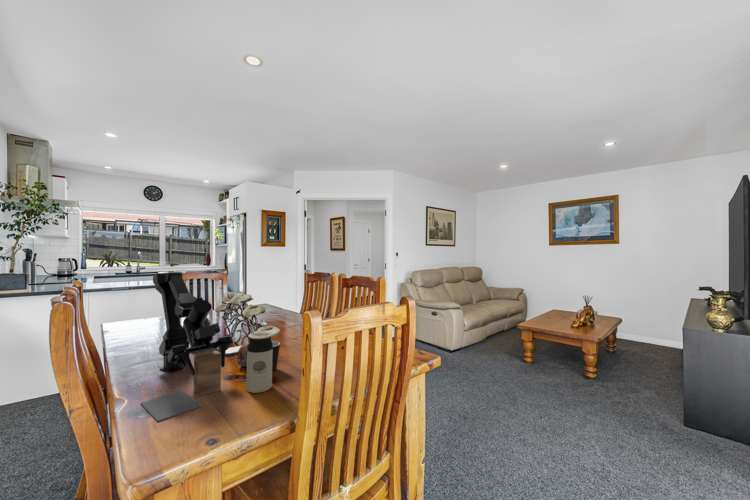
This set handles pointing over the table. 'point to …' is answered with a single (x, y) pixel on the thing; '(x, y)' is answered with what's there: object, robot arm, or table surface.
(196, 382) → the board
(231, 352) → the phone case
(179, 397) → the mat
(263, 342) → the travel mug
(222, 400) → the table surface
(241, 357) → the tin
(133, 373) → the table surface
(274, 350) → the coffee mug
